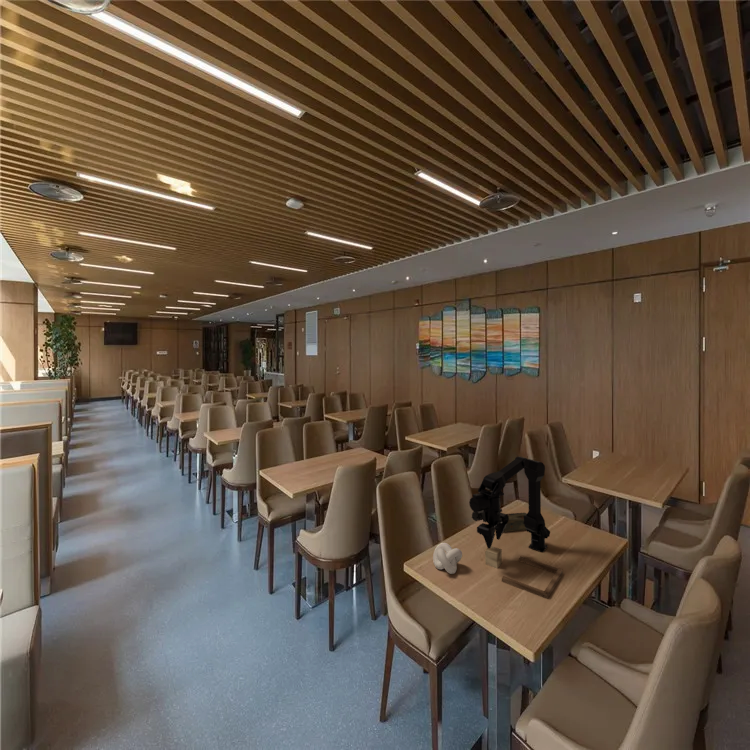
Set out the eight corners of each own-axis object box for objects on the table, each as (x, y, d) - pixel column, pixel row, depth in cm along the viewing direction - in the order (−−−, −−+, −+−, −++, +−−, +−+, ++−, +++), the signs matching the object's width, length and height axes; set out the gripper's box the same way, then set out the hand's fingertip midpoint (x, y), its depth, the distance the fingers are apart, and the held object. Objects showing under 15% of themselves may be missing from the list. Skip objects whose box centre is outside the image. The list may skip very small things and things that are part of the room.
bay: (520, 559, 156) (520, 556, 156) (562, 573, 145) (562, 569, 145) (501, 581, 141) (501, 577, 141) (547, 598, 130) (547, 594, 130)
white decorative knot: (425, 568, 151) (425, 547, 151) (442, 557, 159) (442, 536, 159) (449, 579, 143) (448, 557, 143) (465, 567, 151) (465, 545, 151)
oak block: (490, 559, 157) (490, 545, 157) (501, 563, 153) (501, 549, 153) (485, 564, 153) (485, 550, 153) (497, 568, 150) (496, 554, 150)
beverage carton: (534, 530, 183) (534, 517, 183) (498, 534, 180) (498, 520, 180) (525, 523, 191) (524, 510, 191) (490, 526, 188) (490, 514, 187)
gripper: (484, 495, 165) (484, 530, 165) (464, 509, 151) (465, 546, 151) (508, 501, 157) (509, 537, 158) (490, 516, 143) (491, 555, 144)
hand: (493, 543), depth 153 cm, fingers open, 9 cm apart
